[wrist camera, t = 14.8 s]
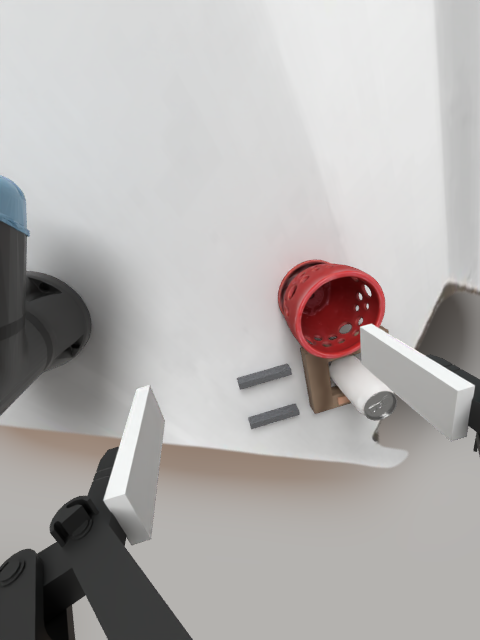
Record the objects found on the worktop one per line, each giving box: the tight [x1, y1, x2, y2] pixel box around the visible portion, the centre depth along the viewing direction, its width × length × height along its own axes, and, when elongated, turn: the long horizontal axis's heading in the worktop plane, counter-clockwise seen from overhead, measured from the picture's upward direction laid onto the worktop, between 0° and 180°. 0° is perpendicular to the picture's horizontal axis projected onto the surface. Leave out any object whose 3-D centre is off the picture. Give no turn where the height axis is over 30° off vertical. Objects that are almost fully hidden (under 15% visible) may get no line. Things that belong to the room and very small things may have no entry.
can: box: [329, 355, 397, 420], centre depth 48 cm, size 6×6×12 cm
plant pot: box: [278, 260, 385, 359], centre depth 42 cm, size 13×13×12 cm
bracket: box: [237, 364, 299, 429], centre depth 53 cm, size 10×11×2 cm
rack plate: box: [300, 326, 388, 414], centre depth 53 cm, size 16×14×3 cm
